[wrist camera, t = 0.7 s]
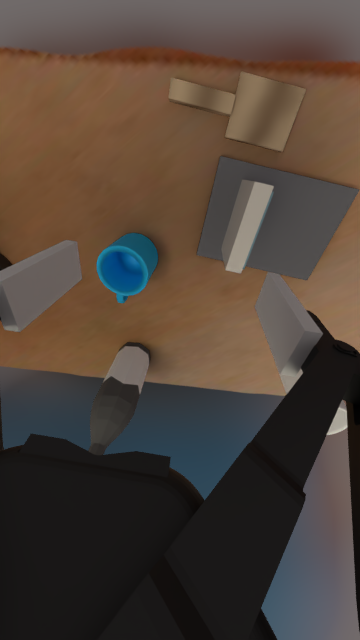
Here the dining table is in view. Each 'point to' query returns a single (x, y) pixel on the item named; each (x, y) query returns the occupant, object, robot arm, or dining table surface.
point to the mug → (127, 265)
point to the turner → (247, 108)
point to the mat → (277, 217)
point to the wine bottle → (118, 396)
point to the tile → (245, 223)
